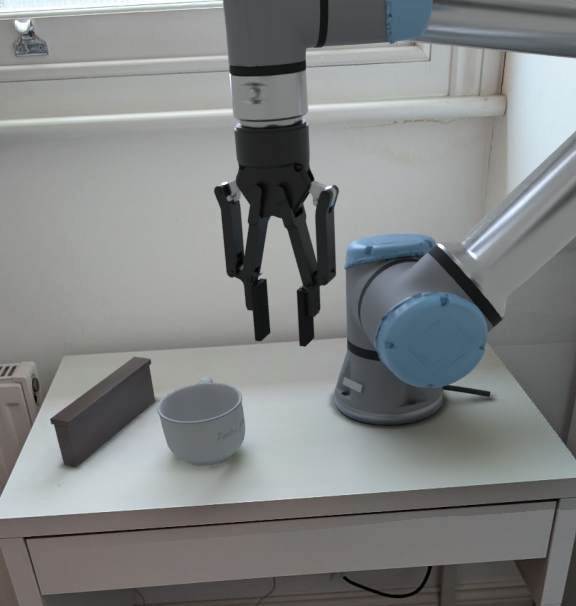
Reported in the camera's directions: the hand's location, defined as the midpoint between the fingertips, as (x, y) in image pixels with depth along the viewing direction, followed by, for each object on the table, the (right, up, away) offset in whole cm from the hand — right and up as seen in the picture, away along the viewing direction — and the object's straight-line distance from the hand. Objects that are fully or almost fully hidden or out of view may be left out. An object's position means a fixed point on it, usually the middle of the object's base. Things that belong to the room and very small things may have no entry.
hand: (284, 338), depth 94 cm
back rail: (-24, -9, +19) cm, 32 cm away
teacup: (-10, -12, +14) cm, 21 cm away
